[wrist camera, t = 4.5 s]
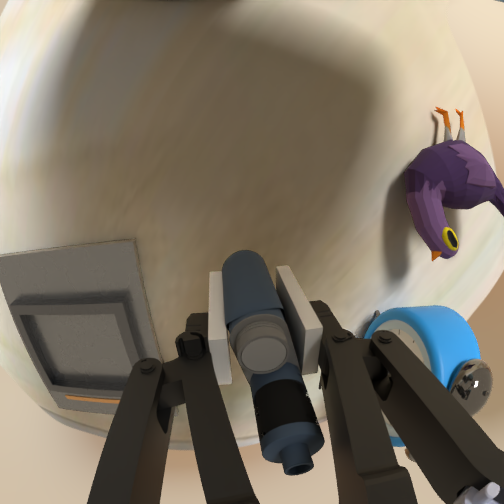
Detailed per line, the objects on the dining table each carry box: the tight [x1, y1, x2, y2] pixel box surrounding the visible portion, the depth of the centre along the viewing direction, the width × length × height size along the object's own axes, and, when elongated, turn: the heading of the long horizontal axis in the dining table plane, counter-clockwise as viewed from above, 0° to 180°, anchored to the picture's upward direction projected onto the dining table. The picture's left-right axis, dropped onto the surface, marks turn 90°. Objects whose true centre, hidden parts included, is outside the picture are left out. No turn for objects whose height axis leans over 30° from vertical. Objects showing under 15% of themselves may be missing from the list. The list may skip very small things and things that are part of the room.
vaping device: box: [222, 250, 325, 475], centre depth 13 cm, size 3×5×12 cm, turn 17°
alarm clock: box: [363, 305, 493, 462], centre depth 21 cm, size 13×6×15 cm, turn 174°
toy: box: [404, 107, 504, 261], centre depth 20 cm, size 11×12×7 cm
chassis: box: [0, 239, 178, 416], centre depth 23 cm, size 20×16×2 cm
